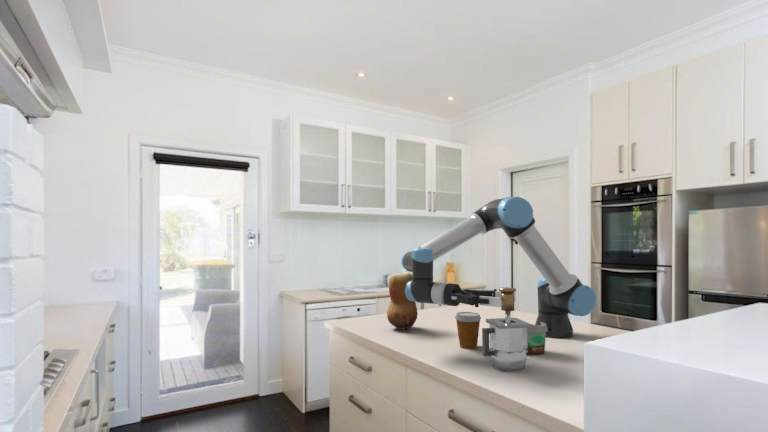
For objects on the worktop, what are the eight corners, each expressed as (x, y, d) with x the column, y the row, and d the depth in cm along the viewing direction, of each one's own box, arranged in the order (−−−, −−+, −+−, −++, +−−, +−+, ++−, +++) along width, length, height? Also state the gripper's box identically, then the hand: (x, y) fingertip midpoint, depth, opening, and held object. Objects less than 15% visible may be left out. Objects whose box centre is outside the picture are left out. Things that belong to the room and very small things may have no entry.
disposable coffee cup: (481, 350, 149) (481, 316, 150) (454, 349, 151) (454, 315, 152) (481, 343, 159) (480, 312, 159) (455, 342, 160) (455, 311, 161)
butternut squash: (382, 327, 187) (381, 271, 189) (407, 324, 194) (406, 270, 195) (398, 333, 175) (397, 274, 176) (424, 330, 182) (423, 272, 183)
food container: (530, 358, 140) (529, 328, 140) (516, 353, 145) (516, 324, 145) (556, 353, 145) (555, 324, 146) (542, 349, 151) (541, 321, 151)
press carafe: (516, 360, 137) (515, 317, 137) (532, 371, 126) (531, 324, 127) (477, 363, 135) (477, 319, 135) (490, 373, 124) (490, 325, 125)
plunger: (514, 340, 135) (513, 286, 136) (525, 347, 128) (524, 289, 129) (492, 341, 134) (491, 287, 135) (502, 348, 127) (501, 290, 128)
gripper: (462, 300, 154) (520, 306, 142) (429, 310, 134) (493, 317, 121) (462, 280, 154) (520, 283, 142) (429, 286, 134) (493, 291, 122)
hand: (508, 299), depth 132 cm, fingers open, 13 cm apart
